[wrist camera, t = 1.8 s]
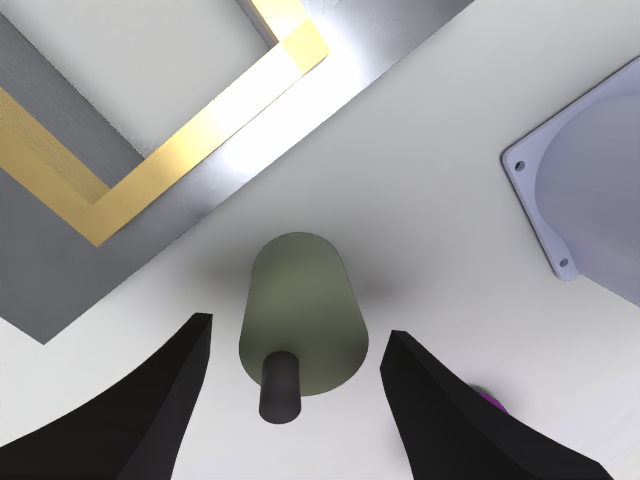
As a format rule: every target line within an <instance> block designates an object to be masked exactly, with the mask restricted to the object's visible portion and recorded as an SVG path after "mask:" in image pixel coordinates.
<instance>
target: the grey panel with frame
mask: <svg viewBox="0 0 640 480" xmlns="http://www.w3.org/2000/svg"><path fill="white" fill-rule="evenodd" d="M236 1H237V2H238V3H239V5H240V6H241V8H242V9H243V11H244V12H245V13H246V15H247V16H248V18H249V19H250V21H251V22H252V24H253V25H254V26H255V28H256V29H257V31H258V32H259V34H260V35H261V36H262V38H263V39H264V41H265V42H266V44H267V45H268V46H269V48H270V49H271V51H270V52H268V53H267V54H266V55H265V56H264V57H263V58H262V59H260V60H259V61H258V62H257V63H256V64H255V65H253V66H252V67H251V68H250V69H249V70H248V71H247V72H245V73H244V74H243V75H242V76H241V77H240V78H239V79H237V80H236V81H235V82H234V83H233V84H232V85H231V86H229V87H228V88H227V89H226V90H225V91H224V92H222V93H221V94H220V95H219V96H218V97H217V98H216V99H214V100H213V101H212V102H211V103H210V104H209V105H208V106H206V107H205V108H204V109H203V110H202V111H201V112H200V113H198V114H197V115H196V116H195V117H194V118H193V119H191V120H190V121H189V122H188V123H187V124H186V125H185V126H183V127H182V128H181V129H180V130H179V131H178V132H177V133H175V134H174V135H173V136H172V137H171V138H170V139H169V140H167V141H166V142H165V143H164V144H163V145H162V146H160V147H159V148H158V149H157V150H156V151H155V152H154V153H152V154H151V155H150V156H149V157H148V158H147V159H146V160H144V159H143V158H142V157H141V156H140V155H139V154H138V153H137V152H136V151H135V150H134V149H133V147H132V146H131V145H130V144H129V143H128V142H127V141H126V140H125V139H124V138H123V137H122V136H121V135H120V134H119V133H118V132H117V131H116V130H115V129H114V128H113V127H112V126H111V125H110V124H109V123H108V122H107V121H106V120H105V119H104V118H103V117H102V116H101V115H100V114H99V113H98V112H97V111H96V110H95V109H94V108H93V107H92V106H91V105H90V104H89V103H88V102H87V101H86V100H85V99H84V98H83V97H82V96H81V95H80V94H79V93H78V91H77V90H76V89H75V88H74V87H73V86H72V85H71V84H70V83H69V82H68V81H67V80H66V79H65V78H64V77H63V76H62V75H61V74H60V73H59V72H58V71H57V70H56V69H55V68H54V67H53V66H52V65H51V64H50V63H49V62H48V61H47V60H46V59H45V58H44V57H43V56H42V55H41V54H40V53H39V52H38V51H37V50H36V49H35V48H34V47H33V46H32V45H31V44H30V43H29V42H28V41H27V40H26V39H25V38H24V37H23V35H22V34H21V33H20V32H19V31H18V30H17V29H16V28H15V27H14V26H13V25H12V24H11V23H10V22H9V21H8V20H7V19H6V18H5V17H4V16H3V15H2V14H1V13H0V317H1V318H3V319H5V320H6V321H8V322H9V323H11V324H12V325H14V326H15V327H17V328H18V329H20V330H21V331H23V332H24V333H26V334H27V335H29V336H30V337H32V338H33V339H35V340H37V341H38V342H40V343H41V344H43V345H45V344H46V343H47V342H48V341H50V340H51V339H52V338H53V337H55V336H56V335H57V334H58V333H60V332H61V331H62V330H63V329H65V328H66V327H67V326H68V325H70V324H71V323H72V322H73V321H75V320H76V319H77V318H78V317H80V316H81V315H82V314H83V313H85V312H86V311H87V310H88V309H90V308H91V307H92V306H93V305H95V304H96V303H97V302H98V301H100V300H101V299H102V298H103V297H105V296H106V295H107V294H108V293H110V292H111V291H112V290H113V289H115V288H116V287H117V286H118V285H120V284H121V283H122V282H123V281H125V280H126V279H127V278H128V277H130V276H131V275H132V274H133V273H135V272H136V271H137V270H138V269H140V268H141V267H142V266H143V265H145V264H146V263H147V262H148V261H150V260H151V259H152V258H153V257H155V256H156V255H157V254H158V253H160V252H161V251H162V250H163V249H165V248H166V247H167V246H168V245H170V244H171V243H172V242H173V241H175V240H176V239H177V238H178V237H180V236H181V235H182V234H183V233H185V232H186V231H187V230H188V229H190V228H191V227H192V226H193V225H195V224H196V223H197V222H198V221H200V220H201V219H202V218H203V217H205V216H206V215H207V214H208V213H210V212H211V211H212V210H213V209H215V208H216V207H217V206H218V205H220V204H221V203H222V202H223V201H225V200H226V199H227V198H228V197H230V196H231V195H232V194H233V193H235V192H236V191H237V190H238V189H240V188H241V187H242V186H243V185H245V184H246V183H247V182H248V181H250V180H251V179H252V178H253V177H255V176H256V175H257V174H258V173H260V172H261V171H262V170H263V169H265V168H266V167H267V166H268V165H270V164H271V163H272V162H273V161H275V160H276V159H277V158H278V157H280V156H281V155H282V154H283V153H285V152H286V151H287V150H288V149H289V148H291V147H292V146H293V145H294V144H296V143H297V142H298V141H299V140H301V139H302V138H303V137H304V136H306V135H307V134H308V133H309V132H311V131H312V130H313V129H314V128H316V127H317V126H318V125H319V124H321V123H322V122H323V121H324V120H326V119H327V118H328V117H329V116H331V115H332V114H333V113H334V112H336V111H337V110H338V109H339V108H341V107H342V106H343V105H344V104H346V103H347V102H348V101H349V100H351V99H352V98H353V97H354V96H356V95H357V94H358V93H359V92H361V91H362V90H363V89H364V88H366V87H367V86H368V85H369V84H371V83H372V82H373V81H374V80H376V79H377V78H378V77H379V76H381V75H382V74H383V73H384V72H386V71H387V70H388V69H389V68H391V67H392V66H393V65H394V64H396V63H397V62H398V61H399V60H401V59H402V58H403V57H404V56H406V55H407V54H408V53H409V52H411V51H412V50H413V49H414V48H416V47H417V46H418V45H419V44H421V43H422V42H423V41H424V40H426V39H427V38H428V37H429V36H431V35H432V34H433V33H434V32H436V31H437V30H438V29H439V28H441V27H442V26H443V25H444V24H446V23H447V22H448V21H449V20H451V19H452V18H453V17H454V16H456V15H457V14H458V13H459V12H461V11H462V10H463V9H464V8H466V7H467V6H468V5H469V4H471V3H472V2H473V1H474V0H236Z"/></svg>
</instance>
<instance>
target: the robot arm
mask: <svg viewBox="0 0 640 480" xmlns="http://www.w3.org/2000/svg"><path fill="white" fill-rule="evenodd" d="M502 161H503V164H504V167H505V169H506V171H507V173H508V175H509V177H510V179H511V181H512V183H513V185H514V187H515V190H516V192H517V194H518V196H519V198H520V200H521V202H522V204H523V206H524V208H525V210H526V213H527V215H528V217H529V219H530V221H531V223H532V225H533V227H534V229H535V231H536V233H537V235H538V238H539V240H540V242H541V244H542V246H543V248H544V250H545V252H546V254H547V256H548V258H549V261H550V263H551V265H552V267H553V269H554V271H555V273H556V275H557V277H558V278H559V279H561V280H563V281H569V280H571V279H573V278H575V277H576V276H578V275H580V274H582V275H584V276H585V277H587V278H589V279H591V280H592V281H594V282H596V283H598V284H599V285H601V286H603V287H605V288H607V289H608V290H610V291H612V292H614V293H615V294H617V295H619V296H621V297H622V298H624V299H626V300H628V301H630V302H631V303H633V304H635V305H637V306H638V307H640V56H639V57H638V58H637V59H635V60H634V61H632V62H631V63H629V64H628V65H627V66H625V67H624V68H622V69H621V70H620V71H618V72H617V73H615V74H614V75H612V76H611V77H610V78H608V79H607V80H605V81H604V82H602V83H601V84H600V85H598V86H597V87H595V88H594V89H593V90H591V91H590V92H588V93H587V94H585V95H584V96H583V97H581V98H580V99H578V100H577V101H576V102H574V103H573V104H571V105H570V106H568V107H567V108H566V109H564V110H563V111H561V112H560V113H559V114H557V115H556V116H554V117H553V118H551V119H550V120H549V121H547V122H546V123H544V124H543V125H541V126H540V127H539V128H537V129H536V130H534V131H533V132H532V133H530V134H529V135H527V136H526V137H524V138H523V139H522V140H520V141H519V142H517V143H516V144H515V145H513V146H512V147H510V148H509V149H508V150H507V151H506V152H505V153H504V155H503V158H502ZM518 162H520V165H519V167H518V168H517V169H516V170H515V165H516V164H517V163H518ZM562 259H563V260H562ZM561 260H562V261H561ZM560 261H561V262H560ZM212 317H213V314H207V313H195V314H193V315H192V316H191V317H190V318H189V320H188V321H187V322H186V323H185V324H184V325H183V326H182V327H181V328H180V329H179V330H178V331H177V332H176V333H175V334H174V335H173V336H172V337H171V338H170V339H169V340H168V341H167V342H166V343H165V344H164V345H163V346H162V347H161V348H159V349H158V350H157V351H156V352H155V353H154V354H153V355H151V356H150V357H149V358H148V359H147V360H146V361H144V362H143V363H142V364H141V365H140V366H138V367H137V368H136V369H135V370H133V371H132V372H131V373H129V374H128V375H127V376H125V377H124V378H123V379H121V380H120V381H118V382H117V383H116V384H114V385H113V386H111V387H110V388H108V389H107V390H105V391H104V392H102V393H101V394H99V395H98V396H96V397H95V398H93V399H91V400H90V401H88V402H87V403H85V404H83V405H82V406H80V407H78V408H77V409H75V410H73V411H71V412H70V413H68V414H66V415H64V416H62V417H60V418H59V419H57V420H55V421H53V422H51V423H49V424H47V425H45V426H43V427H41V428H40V429H38V430H36V431H34V432H31V433H29V434H27V435H25V436H23V437H21V438H19V439H17V440H15V441H12V442H10V443H8V444H6V445H4V446H2V447H0V480H170V479H171V476H172V472H173V468H174V465H175V461H176V457H177V454H178V451H179V448H180V445H181V442H182V439H183V436H184V434H185V431H186V428H187V425H188V423H189V420H190V417H191V415H192V412H193V409H194V406H195V404H196V401H197V398H198V395H199V393H200V390H201V387H202V384H203V381H204V377H205V373H206V369H207V365H208V361H209V356H210V343H211V330H212ZM380 373H381V377H382V382H383V386H384V391H385V394H386V397H387V400H388V403H389V405H390V408H391V411H392V414H393V417H394V419H395V422H396V425H397V428H398V430H399V433H400V436H401V438H402V441H403V444H404V447H405V450H406V453H407V456H408V459H409V463H410V466H411V470H412V474H413V478H414V480H614V479H613V478H612V477H611V476H610V475H609V473H608V472H607V471H606V470H605V469H604V468H603V467H602V465H601V464H600V463H598V462H596V461H594V460H592V459H590V458H588V457H586V456H584V455H582V454H580V453H578V452H576V451H574V450H572V449H569V448H567V447H565V446H563V445H561V444H559V443H557V442H556V441H554V440H552V439H550V438H548V437H546V436H545V435H543V434H541V433H539V432H537V431H535V430H534V429H532V428H530V427H529V426H527V425H525V424H523V423H522V422H520V421H519V420H517V419H515V418H514V417H512V416H511V415H509V414H507V413H506V412H504V411H503V410H501V409H500V408H498V407H497V406H495V405H494V404H492V403H491V402H490V401H488V400H487V399H485V398H484V397H483V396H481V395H480V394H479V393H477V392H476V391H475V390H473V389H472V388H471V387H469V386H468V385H467V384H466V383H464V382H463V381H462V380H461V379H459V378H458V377H457V376H456V375H455V374H453V373H452V372H451V371H450V370H449V369H448V368H447V367H445V366H444V365H443V364H442V363H441V362H440V361H439V360H438V359H436V358H435V357H434V356H433V355H432V354H431V353H430V352H429V351H428V350H427V349H425V348H424V347H423V346H422V345H421V344H420V343H419V342H418V341H417V340H416V339H415V338H413V337H412V336H411V335H410V334H409V333H407V332H406V331H398V330H392V332H391V335H390V338H389V341H388V344H387V347H386V350H385V353H384V356H383V359H382V362H381V366H380Z"/></svg>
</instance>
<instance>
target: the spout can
mask: <svg viewBox="0 0 640 480" xmlns="http://www.w3.org/2000/svg"><path fill="white" fill-rule="evenodd" d="M368 345H369V338H368V331H367V328H366V325H365V323H364V320H363V317H362V315H361V312H360V309H359V306H358V304H357V301H356V298H355V296H354V293H353V290H352V288H351V285H350V282H349V279H348V277H347V274H346V271H345V269H344V266H343V263H342V261H341V258H340V256H339V254H338V252H337V251H336V249H335V248H334V247H333V246H332V245H331V244H330V243H329V242H328V241H327V240H325V239H323V238H322V237H319V236H317V235H314V234H311V233H305V232H295V233H288V234H285V235H282V236H279V237H277V238H275V239H273V240H272V241H270V242H269V243H268V244H267V245H265V246H264V248H263V249H262V250H261V251H260V253H259V254H258V256H257V258H256V260H255V264H254V268H253V273H252V278H251V284H250V289H249V294H248V299H247V304H246V310H245V315H244V320H243V325H242V330H241V336H240V341H239V355H240V360H241V363H242V365H243V367H244V369H245V371H246V372H247V374H248V375H249V376H250V377H251V378H252V379H253V380H254V381H255V382H256V383H257V384H259V385H260V386H261V391H260V403H259V413H260V416H261V417H262V418H263V419H264V420H265V421H267V422H269V423H272V424H285V423H288V422H291V421H292V420H294V419H295V418H297V417H298V415H299V414H300V412H301V396H312V395H317V394H321V393H324V392H328V391H330V390H332V389H335V388H336V387H338V386H340V385H342V384H343V383H345V382H346V381H347V380H349V379H350V378H351V377H352V376H353V375H354V374H355V373H356V372H357V371H358V369H359V368H360V367H361V365H362V363H363V361H364V359H365V357H366V354H367V351H368Z"/></svg>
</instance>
